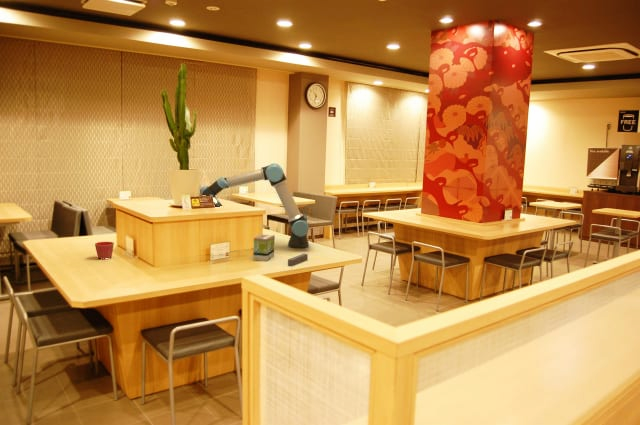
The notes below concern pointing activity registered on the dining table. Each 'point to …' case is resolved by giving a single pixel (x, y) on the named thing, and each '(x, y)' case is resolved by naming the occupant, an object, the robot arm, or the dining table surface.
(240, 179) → the robot arm
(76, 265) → the dining table surface
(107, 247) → the flower pot
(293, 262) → the rail
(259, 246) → the tea box
